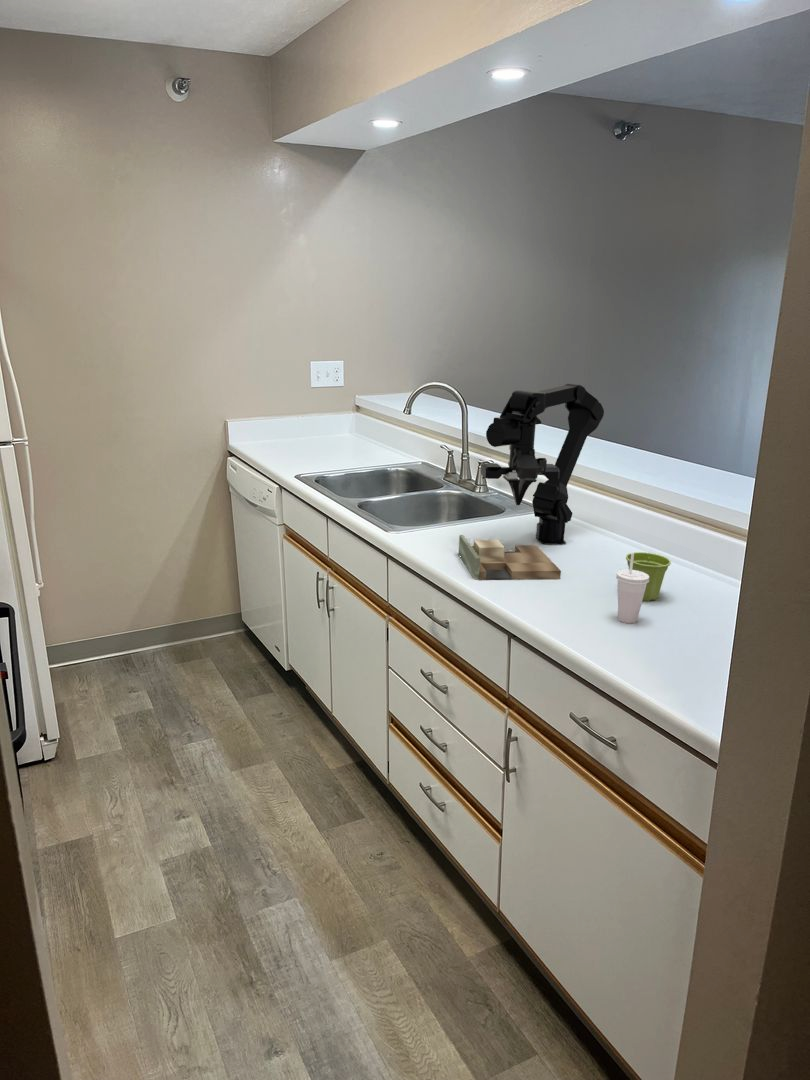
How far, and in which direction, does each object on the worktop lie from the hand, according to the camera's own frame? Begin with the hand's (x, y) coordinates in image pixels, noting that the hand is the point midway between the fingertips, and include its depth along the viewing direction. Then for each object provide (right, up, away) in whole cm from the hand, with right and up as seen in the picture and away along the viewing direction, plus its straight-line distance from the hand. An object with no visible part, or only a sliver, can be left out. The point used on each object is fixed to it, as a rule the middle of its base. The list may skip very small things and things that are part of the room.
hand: (517, 504), depth 203 cm
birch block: (-8, -13, -10) cm, 18 cm away
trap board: (-3, -15, -9) cm, 18 cm away
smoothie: (+17, -25, -40) cm, 50 cm away
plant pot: (+24, -21, -26) cm, 41 cm away
